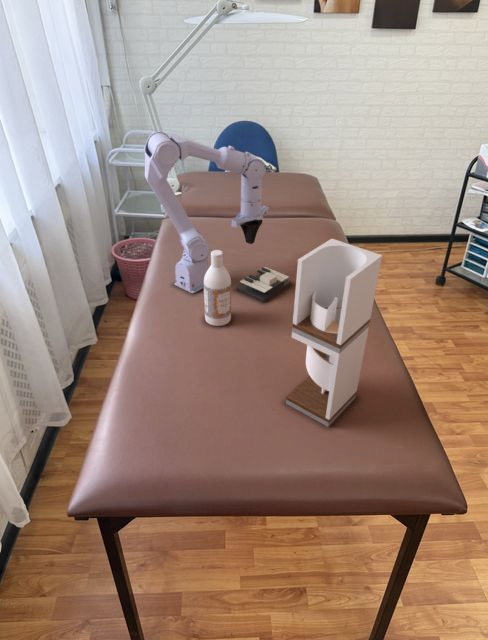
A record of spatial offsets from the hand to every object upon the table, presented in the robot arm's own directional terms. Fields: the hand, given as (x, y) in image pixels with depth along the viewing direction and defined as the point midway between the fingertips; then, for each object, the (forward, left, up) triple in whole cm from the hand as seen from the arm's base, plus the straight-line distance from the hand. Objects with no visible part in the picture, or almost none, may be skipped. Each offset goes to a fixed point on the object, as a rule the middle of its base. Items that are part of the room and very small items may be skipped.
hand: (249, 242), depth 151 cm
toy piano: (-4, -9, -10) cm, 14 cm away
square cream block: (-4, -11, -8) cm, 14 cm away
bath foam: (-25, -10, -11) cm, 29 cm away
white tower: (-33, -48, -11) cm, 59 cm away
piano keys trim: (-4, -9, -7) cm, 12 cm away
